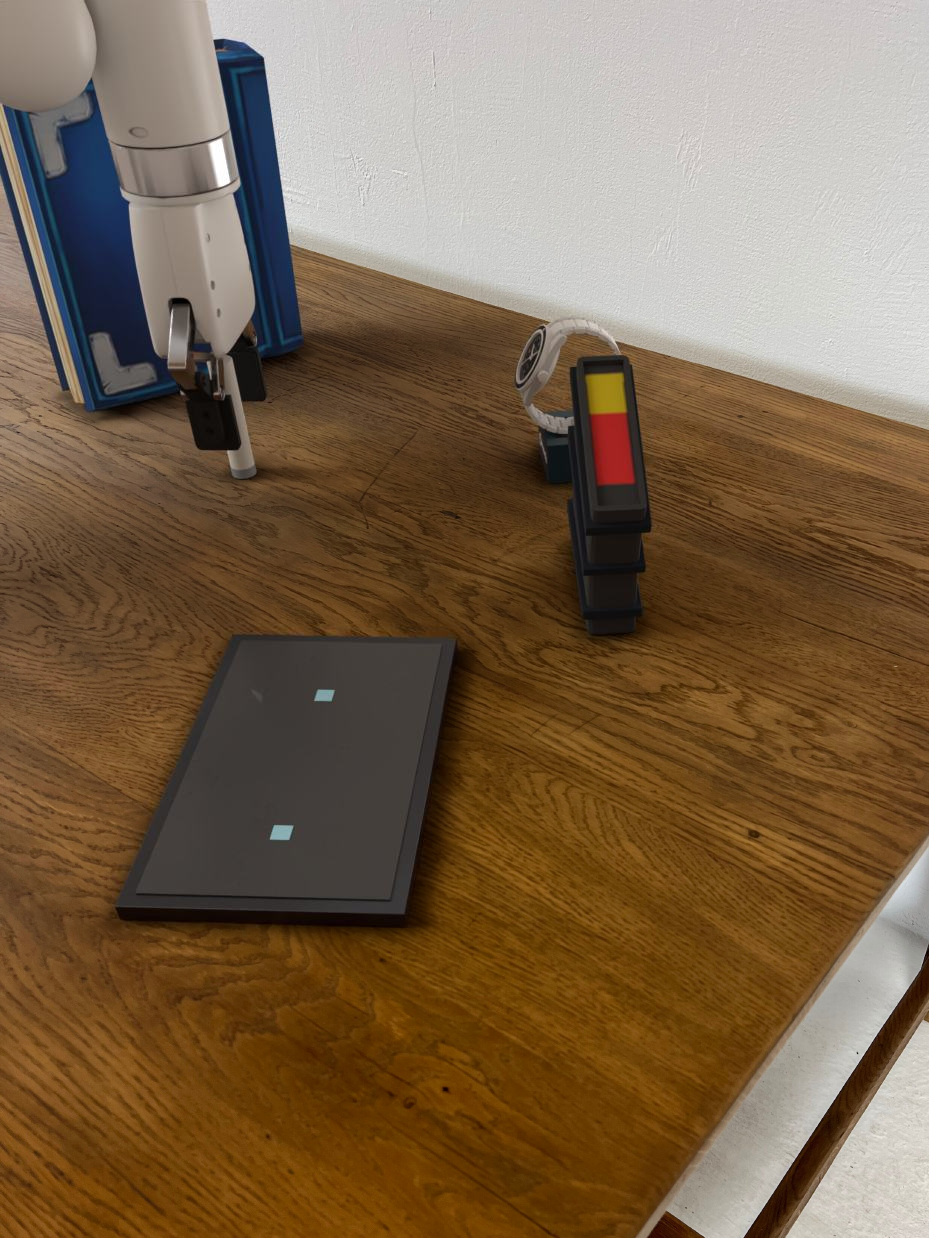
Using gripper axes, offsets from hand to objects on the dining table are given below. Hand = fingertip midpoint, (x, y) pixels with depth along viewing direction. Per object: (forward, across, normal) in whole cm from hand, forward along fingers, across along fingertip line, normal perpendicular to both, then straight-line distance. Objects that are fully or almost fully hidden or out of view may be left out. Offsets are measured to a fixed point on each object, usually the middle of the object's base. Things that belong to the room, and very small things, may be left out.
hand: (233, 421), depth 85 cm
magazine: (+4, +16, +28) cm, 33 cm away
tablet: (+4, +33, +12) cm, 35 cm away
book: (+4, -18, -9) cm, 21 cm away
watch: (+4, -2, +25) cm, 25 cm away
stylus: (+4, 0, 0) cm, 4 cm away
